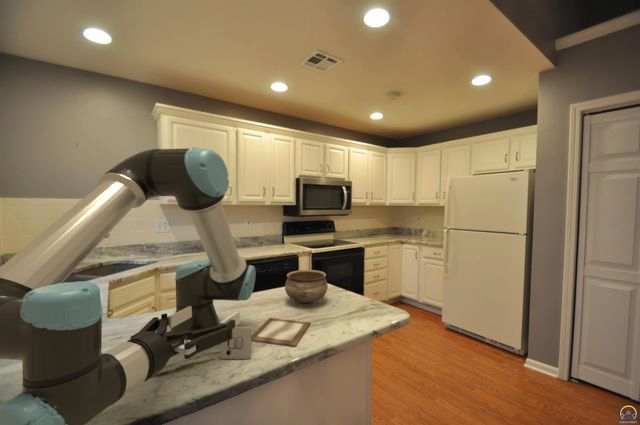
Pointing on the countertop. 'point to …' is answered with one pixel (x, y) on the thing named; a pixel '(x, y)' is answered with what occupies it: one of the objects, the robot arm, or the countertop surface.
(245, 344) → the electrical switch
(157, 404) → the countertop surface
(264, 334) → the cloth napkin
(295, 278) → the cooking pot
